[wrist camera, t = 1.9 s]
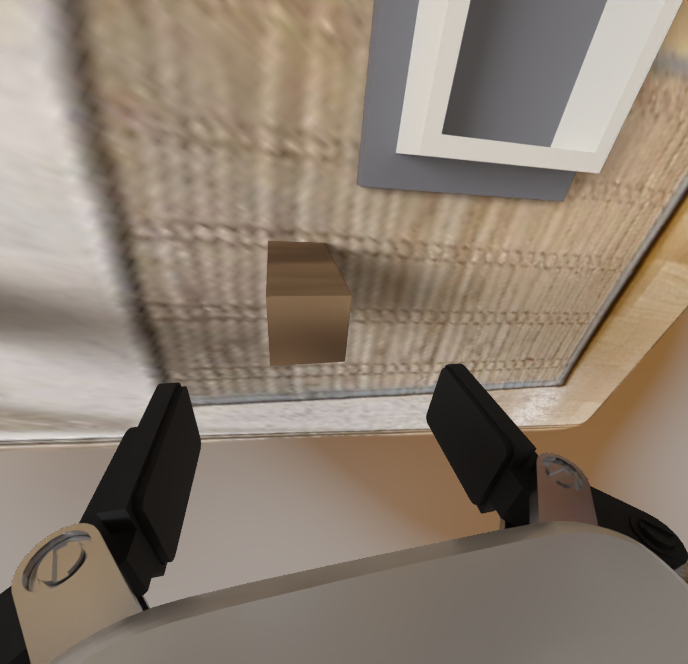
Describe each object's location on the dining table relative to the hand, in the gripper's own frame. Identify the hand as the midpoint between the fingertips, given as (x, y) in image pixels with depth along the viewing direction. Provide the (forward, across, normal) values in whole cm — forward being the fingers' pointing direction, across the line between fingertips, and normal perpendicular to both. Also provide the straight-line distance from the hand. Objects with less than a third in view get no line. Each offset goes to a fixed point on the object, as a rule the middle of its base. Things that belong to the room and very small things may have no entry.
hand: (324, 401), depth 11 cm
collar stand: (+14, -12, -14) cm, 23 cm away
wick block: (+14, 0, 0) cm, 14 cm away
